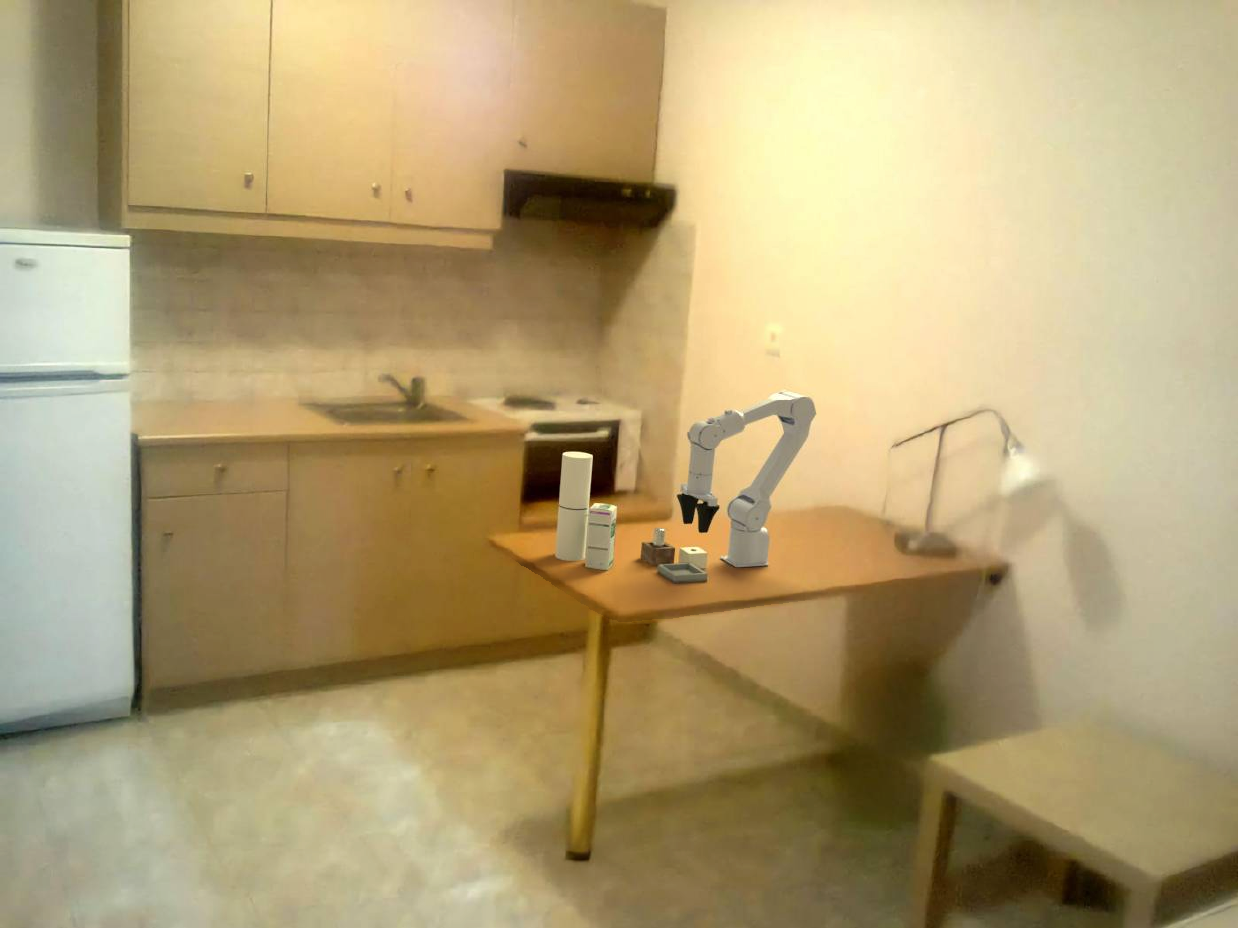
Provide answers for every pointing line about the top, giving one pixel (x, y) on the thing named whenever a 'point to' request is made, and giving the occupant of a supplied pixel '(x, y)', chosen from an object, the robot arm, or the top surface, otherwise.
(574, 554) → the cylindrical container
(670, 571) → the tray
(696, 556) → the small block
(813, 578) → the top surface
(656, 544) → the cylinder
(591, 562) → the syrup box
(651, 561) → the hollow square frame
